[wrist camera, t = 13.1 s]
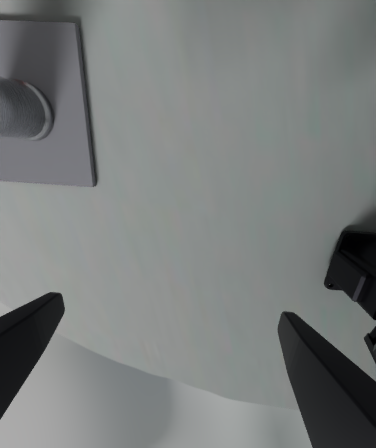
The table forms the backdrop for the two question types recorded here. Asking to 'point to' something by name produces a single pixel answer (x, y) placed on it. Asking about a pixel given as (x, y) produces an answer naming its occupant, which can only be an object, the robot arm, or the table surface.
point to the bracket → (59, 98)
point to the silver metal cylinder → (24, 111)
